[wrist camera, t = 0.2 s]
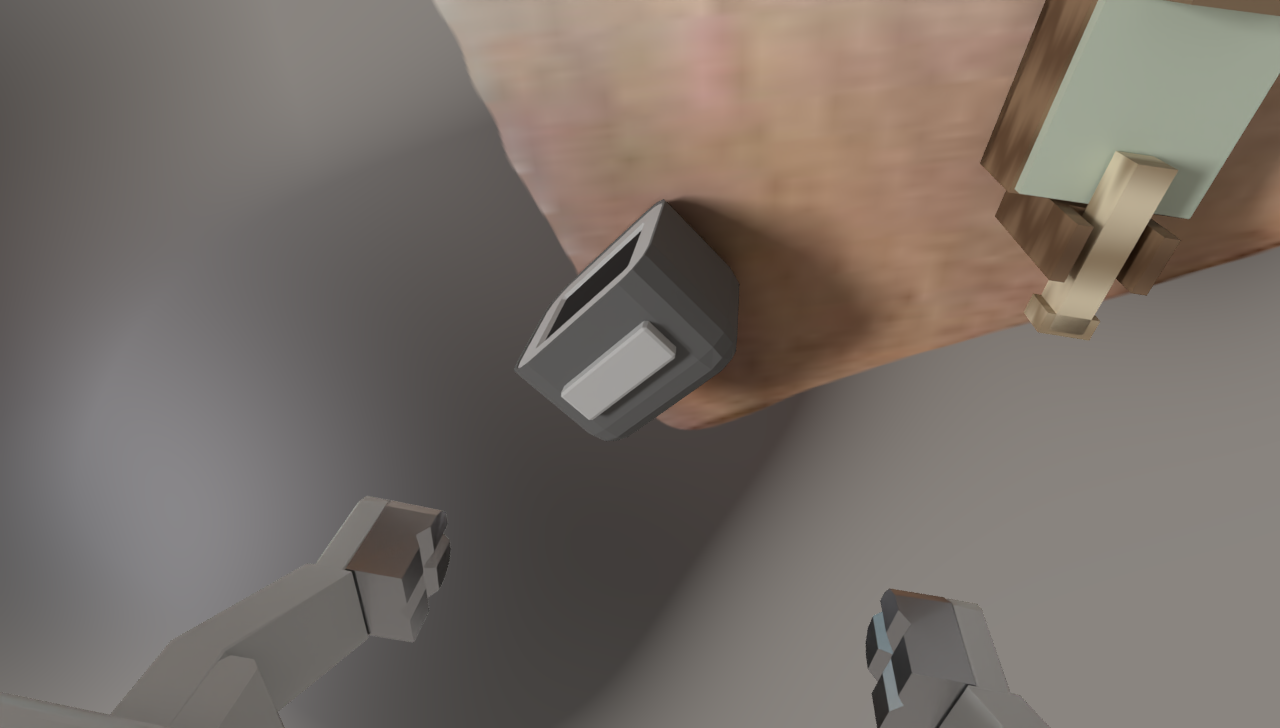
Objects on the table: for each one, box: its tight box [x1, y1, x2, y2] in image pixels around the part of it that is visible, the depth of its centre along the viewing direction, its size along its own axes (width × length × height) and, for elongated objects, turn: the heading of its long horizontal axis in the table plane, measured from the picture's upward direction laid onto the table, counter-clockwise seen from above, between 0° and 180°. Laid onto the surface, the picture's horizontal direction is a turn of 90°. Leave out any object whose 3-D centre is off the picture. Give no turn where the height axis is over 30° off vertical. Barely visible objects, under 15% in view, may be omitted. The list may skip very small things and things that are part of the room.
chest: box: [980, 0, 1184, 295], centre depth 42 cm, size 22×12×12 cm, turn 174°
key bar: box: [1024, 151, 1178, 340], centre depth 45 cm, size 12×4×3 cm, turn 174°
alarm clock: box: [514, 199, 739, 441], centre depth 56 cm, size 16×11×16 cm
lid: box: [1015, 0, 1280, 219], centre depth 39 cm, size 17×11×6 cm, turn 174°
